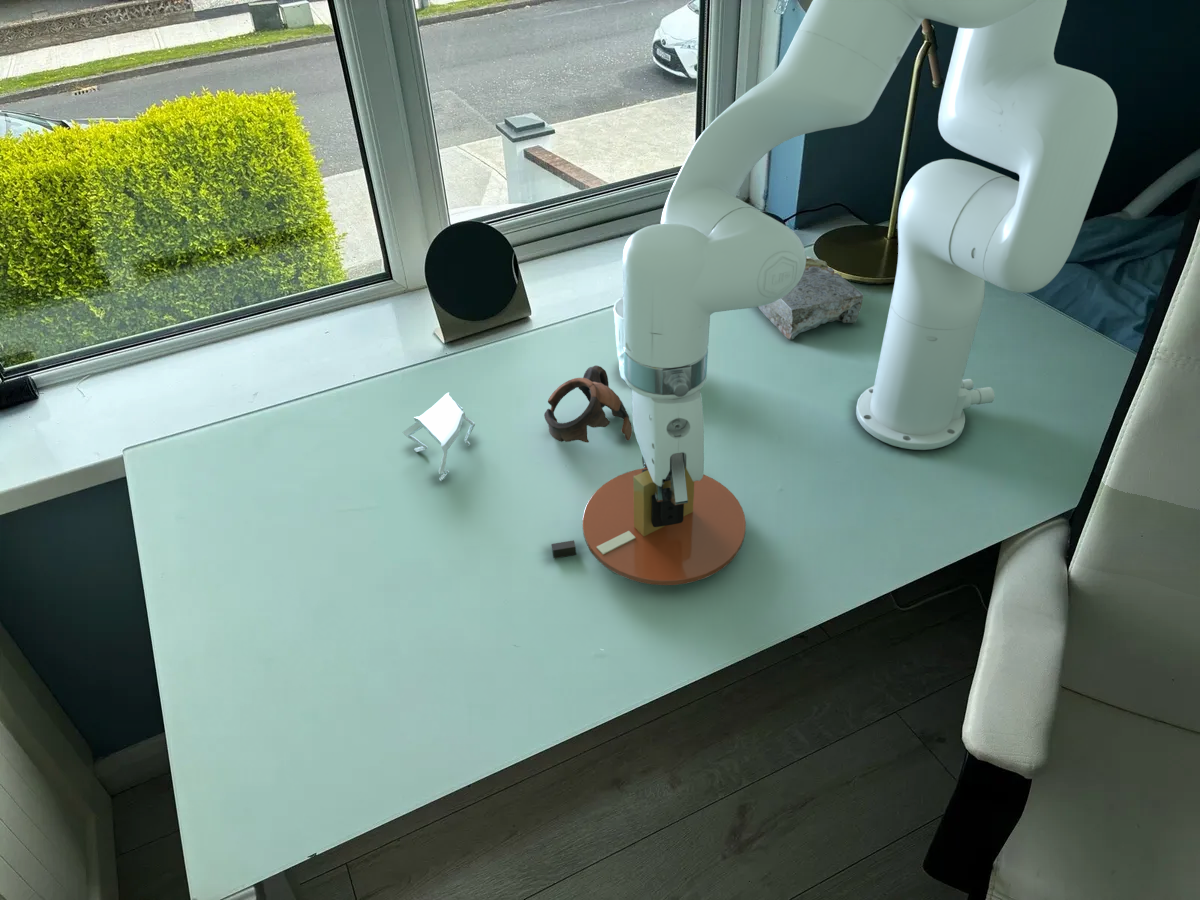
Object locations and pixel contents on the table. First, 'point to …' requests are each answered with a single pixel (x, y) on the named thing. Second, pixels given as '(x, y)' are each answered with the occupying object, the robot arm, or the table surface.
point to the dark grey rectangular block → (563, 549)
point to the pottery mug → (594, 415)
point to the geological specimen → (814, 301)
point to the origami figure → (441, 427)
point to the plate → (663, 530)
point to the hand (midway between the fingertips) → (662, 509)
